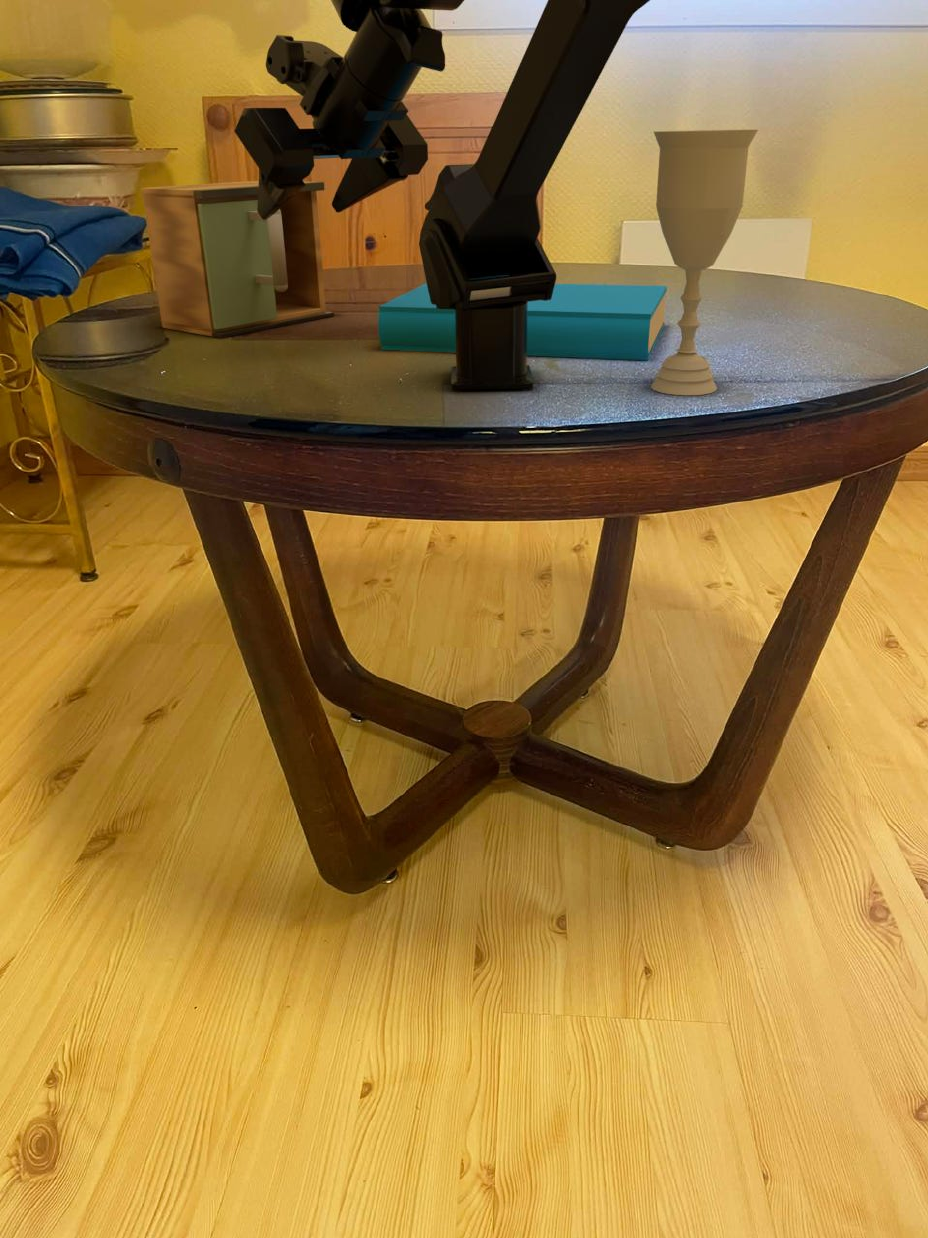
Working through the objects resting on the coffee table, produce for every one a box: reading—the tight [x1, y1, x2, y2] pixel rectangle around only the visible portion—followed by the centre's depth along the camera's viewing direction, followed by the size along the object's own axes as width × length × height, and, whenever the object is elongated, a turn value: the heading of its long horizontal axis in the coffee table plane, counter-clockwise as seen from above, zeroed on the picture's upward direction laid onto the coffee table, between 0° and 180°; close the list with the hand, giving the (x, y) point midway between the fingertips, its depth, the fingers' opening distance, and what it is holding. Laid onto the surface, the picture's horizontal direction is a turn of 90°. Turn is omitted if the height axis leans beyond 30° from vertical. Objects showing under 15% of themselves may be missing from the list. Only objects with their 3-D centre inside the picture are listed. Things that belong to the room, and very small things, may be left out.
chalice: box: [650, 129, 759, 396], centre depth 72 cm, size 7×7×18 cm
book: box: [377, 282, 668, 361], centre depth 94 cm, size 17×4×25 cm
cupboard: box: [141, 180, 335, 339], centre depth 103 cm, size 10×16×14 cm, turn 140°
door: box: [198, 199, 288, 330], centre depth 96 cm, size 5×8×12 cm, turn 140°
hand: (299, 212), depth 92 cm, fingers open, 9 cm apart
